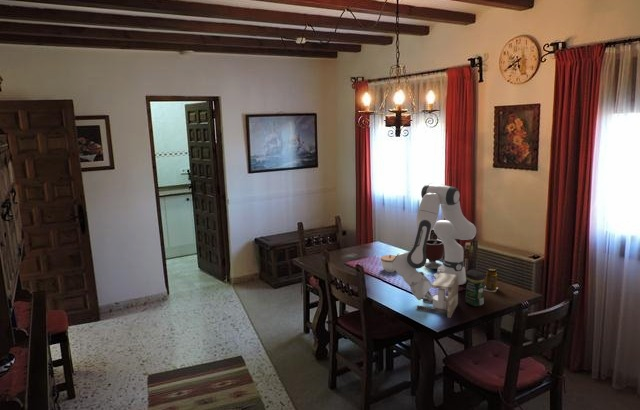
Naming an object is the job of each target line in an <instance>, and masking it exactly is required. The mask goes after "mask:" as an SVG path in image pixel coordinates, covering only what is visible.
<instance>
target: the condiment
mask: <svg viewBox="0 0 640 410" xmlns="http://www.w3.org/2000/svg"><path fill="white" fill-rule="evenodd" d="M497 284H498V274H497V269H496V268H487V270H486V274H485V286H483V291H486V292H492V293H496V292H497V290H498V289H499V287H498V286H497Z"/></svg>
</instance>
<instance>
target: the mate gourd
mask: <svg viewBox="0 0 640 410" xmlns="http://www.w3.org/2000/svg"><path fill="white" fill-rule="evenodd" d="M425 253H426V258H427V260H429V261H428V262H426V263H425V265H424V266H423V267H425V268H428V269H438V267H440V266H441V265H442V264H443V263H440V262H437V261H439V260H441V259H442V257H443V256H444V253H445V249H444V245H443V242H442V240H438V239H428V241H427V245H426V250H425Z"/></svg>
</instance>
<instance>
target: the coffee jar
mask: <svg viewBox="0 0 640 410" xmlns="http://www.w3.org/2000/svg"><path fill="white" fill-rule="evenodd" d="M465 273H466V286H465V287H466V288H465V296H464V299H465V300H464V301H465V303H466V304H469V305H471V306H472V307H473V306H474V307H481V306H483V305H484V303H485V298H484V297H485V296H484V294H485V293H484V290H483V288H484V284H485V282H486V275H485V273H483V272H480V271H477V270H474V269H469V270H467V271H466V272H465Z"/></svg>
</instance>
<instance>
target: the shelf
mask: <svg viewBox="0 0 640 410" xmlns="http://www.w3.org/2000/svg"><path fill="white" fill-rule="evenodd" d="M431 284H432V286H431V288H432V289H445V291H447V296H448V310H443V309H437V308H433V307H431V306H430V307H429V306H424V305H416V310H417V311H424V312H429V313H435V314H441V315H446V316H447V318H449V319H451V318H452V316H453V314H454V312H455V310H456V308H457V306H458V304H459V285H458V275H454V274H445V273H440V274H439V275H438V277H437V278H435V279H434V281H433V282H432V283H431ZM422 302H423V303H430V304H433V299H432V300H431V301H430V300H429V299H427V298H426V297H423V298H422Z"/></svg>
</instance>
